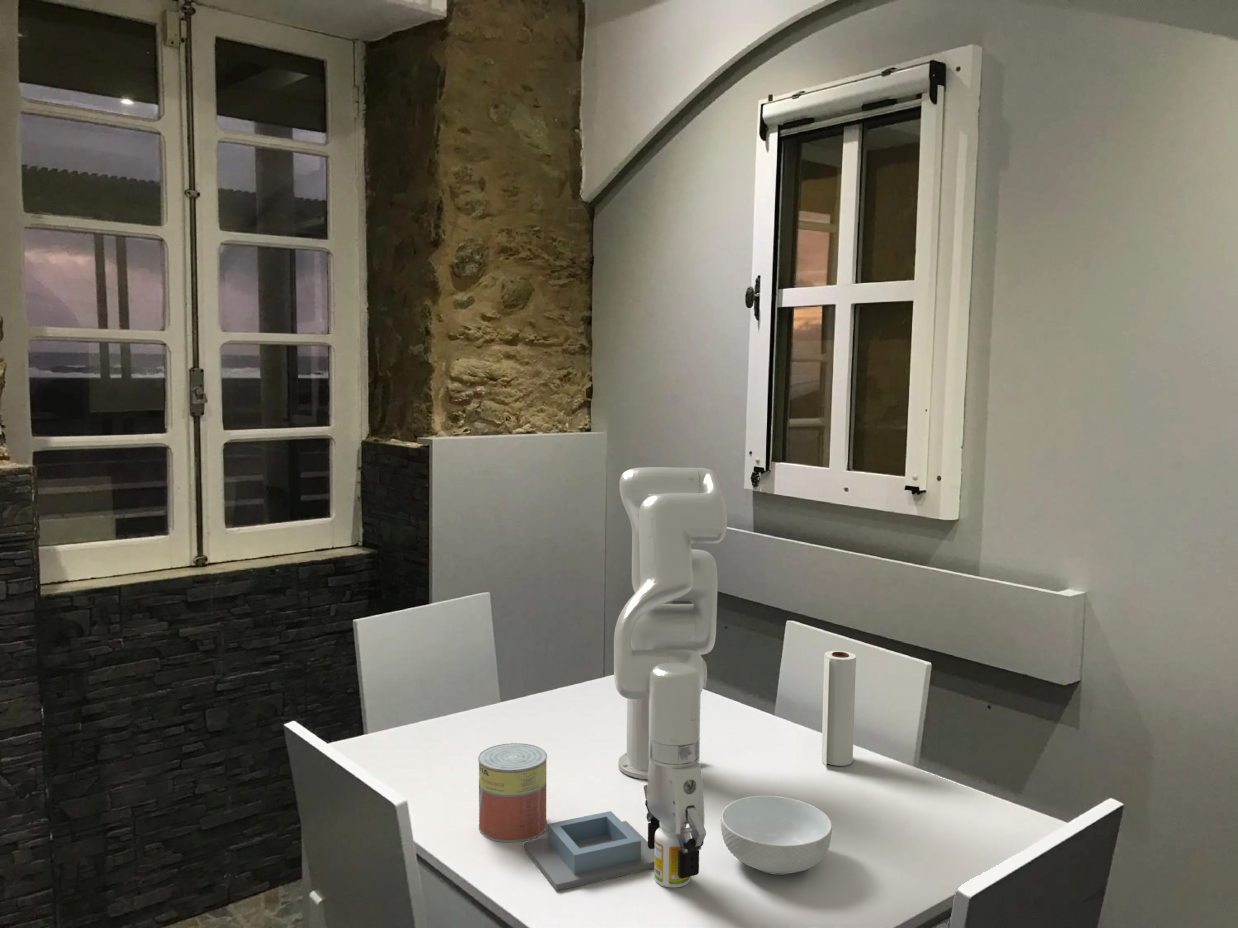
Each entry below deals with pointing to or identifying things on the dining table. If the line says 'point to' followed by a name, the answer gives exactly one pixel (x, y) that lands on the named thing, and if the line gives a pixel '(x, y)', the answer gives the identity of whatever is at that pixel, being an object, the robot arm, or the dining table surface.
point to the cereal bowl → (776, 833)
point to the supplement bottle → (668, 857)
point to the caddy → (589, 851)
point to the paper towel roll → (838, 708)
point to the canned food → (512, 792)
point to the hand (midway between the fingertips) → (672, 860)
